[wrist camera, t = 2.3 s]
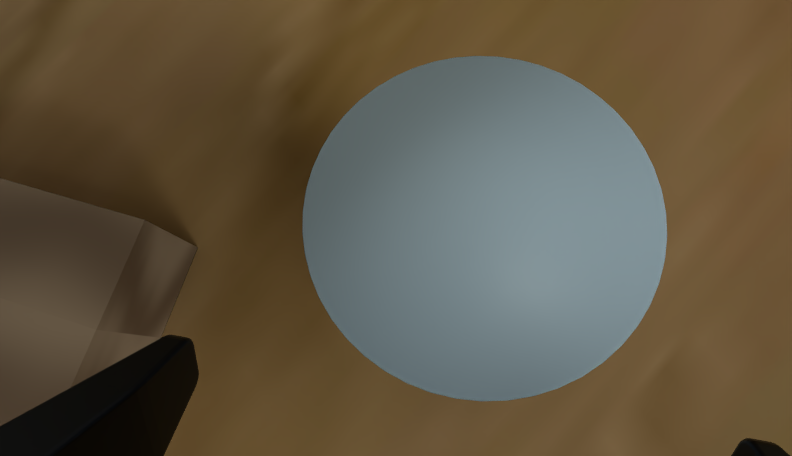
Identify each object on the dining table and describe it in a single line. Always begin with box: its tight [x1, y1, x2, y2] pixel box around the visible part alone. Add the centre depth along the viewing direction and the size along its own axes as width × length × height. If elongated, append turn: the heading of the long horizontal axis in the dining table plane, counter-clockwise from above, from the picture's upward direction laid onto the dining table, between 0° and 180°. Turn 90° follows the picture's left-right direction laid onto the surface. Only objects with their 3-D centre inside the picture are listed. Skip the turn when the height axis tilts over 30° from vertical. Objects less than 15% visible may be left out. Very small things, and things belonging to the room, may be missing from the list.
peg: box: [303, 56, 667, 401], centre depth 13 cm, size 4×4×14 cm
